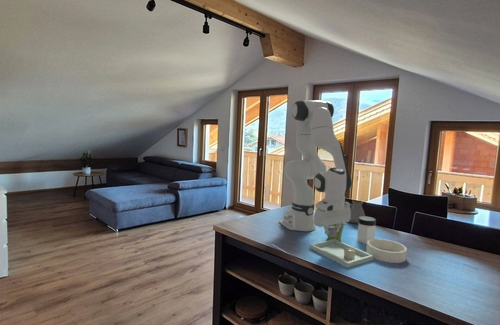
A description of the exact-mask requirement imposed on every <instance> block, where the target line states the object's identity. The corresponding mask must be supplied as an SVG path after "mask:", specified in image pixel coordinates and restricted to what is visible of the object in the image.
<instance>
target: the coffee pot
mask: <svg viewBox="0 0 500 325" xmlns="http://www.w3.org/2000/svg"><path fill="white" fill-rule="evenodd" d="M345 202H348V203H349V204H350V210H351V219H350V221H349V223H352V224H356V225H358V219H359V217H361V216H366V214H365V210H364V209H363V204H364V202H363V201H361V200H352V201H351V202H352V203H350V202H349V201H347V200H346V199H345Z"/></svg>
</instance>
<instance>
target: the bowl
mask: <svg viewBox="0 0 500 325" xmlns="http://www.w3.org/2000/svg"><path fill="white" fill-rule="evenodd" d="M365 249H366V250H365V252H366V253H368V254H371V255H373V259H375V260H378V261H380V262H384V263H391V264H392V263H393V264H401V263H403V262H406V261H407V249H408V248H407V247H406V246H405V245H404V244H402V243H400V242H397V241H395V240H391V239H385V238H375V239H371V240H368V241H367V245H366V247H365Z"/></svg>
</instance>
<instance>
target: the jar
mask: <svg viewBox="0 0 500 325" xmlns="http://www.w3.org/2000/svg"><path fill="white" fill-rule="evenodd" d="M376 225H377V219H376V218H374V217H371V216H366V215H365V216H361V217H359V219H358V224H357V237H356V239H357V242H358V243H360V244H364V245H366V246H367V241H368V240H371V239H376V229H377V227H376Z"/></svg>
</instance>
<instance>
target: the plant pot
mask: <svg viewBox="0 0 500 325" xmlns="http://www.w3.org/2000/svg"><path fill="white" fill-rule="evenodd" d="M329 226H333V227H336V224H334V225H329ZM344 226H345V222H344V223H341V226H340V228H339V232H337V236H336V237H329V236H327V239H328V240H332V239H336V240H338V241H341V239H342V233H343V229H344Z"/></svg>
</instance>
